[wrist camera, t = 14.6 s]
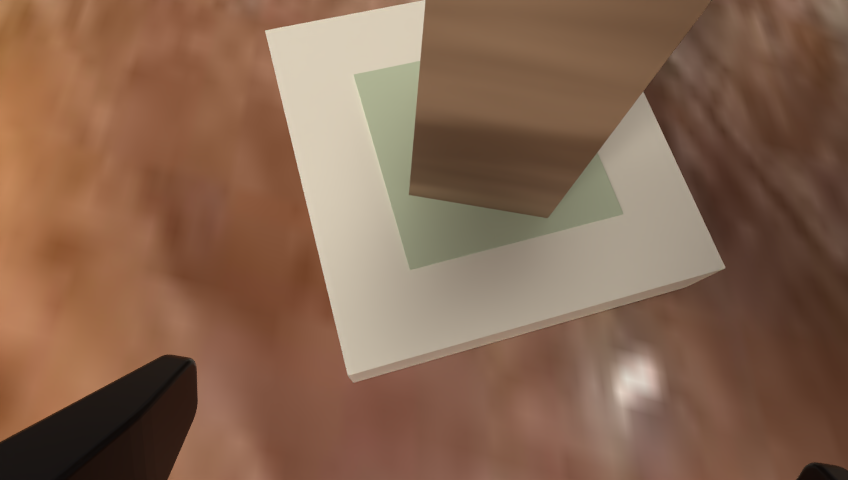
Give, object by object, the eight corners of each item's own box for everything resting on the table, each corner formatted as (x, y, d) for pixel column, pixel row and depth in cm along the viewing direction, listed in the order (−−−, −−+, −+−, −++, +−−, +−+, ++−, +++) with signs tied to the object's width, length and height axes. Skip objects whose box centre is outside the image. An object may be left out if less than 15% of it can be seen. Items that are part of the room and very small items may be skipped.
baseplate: (353, 382, 18) (347, 375, 16) (278, 74, 22) (264, 28, 19) (685, 287, 20) (727, 267, 17) (566, 16, 23) (587, -33, 21)
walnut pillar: (547, 218, 18) (756, -60, 8) (408, 194, 17) (435, -115, 8) (558, 98, 19) (746, -267, 9) (429, 76, 19) (475, -315, 9)
